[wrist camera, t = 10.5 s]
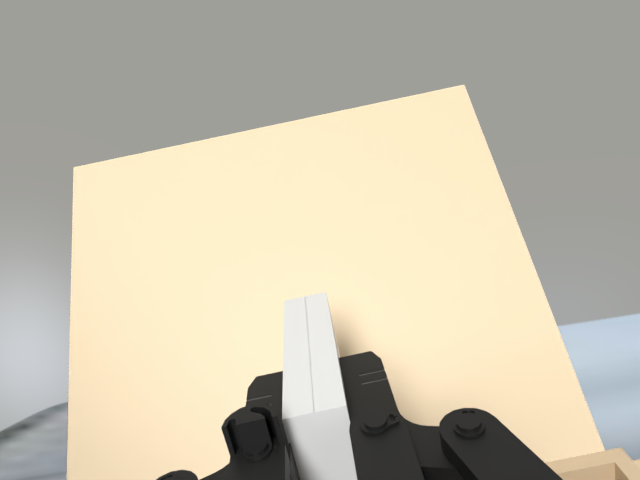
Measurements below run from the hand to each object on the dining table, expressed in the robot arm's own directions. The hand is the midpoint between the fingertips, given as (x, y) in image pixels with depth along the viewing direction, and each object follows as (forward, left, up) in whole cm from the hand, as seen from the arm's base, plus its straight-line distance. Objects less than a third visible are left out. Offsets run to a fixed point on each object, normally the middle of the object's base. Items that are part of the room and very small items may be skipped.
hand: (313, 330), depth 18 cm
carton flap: (-3, +4, 0) cm, 5 cm away
